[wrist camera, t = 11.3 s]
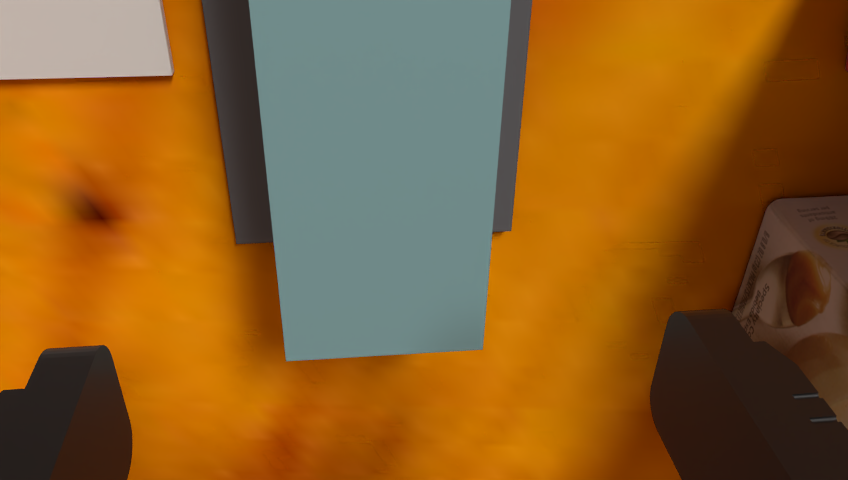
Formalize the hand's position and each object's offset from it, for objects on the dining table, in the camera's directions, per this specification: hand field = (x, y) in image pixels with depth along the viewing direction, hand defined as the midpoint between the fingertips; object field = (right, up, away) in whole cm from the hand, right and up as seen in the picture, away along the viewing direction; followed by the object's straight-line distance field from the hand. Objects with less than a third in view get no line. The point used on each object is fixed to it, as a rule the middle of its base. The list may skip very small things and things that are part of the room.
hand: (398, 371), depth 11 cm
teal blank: (-1, +7, +8) cm, 10 cm away
